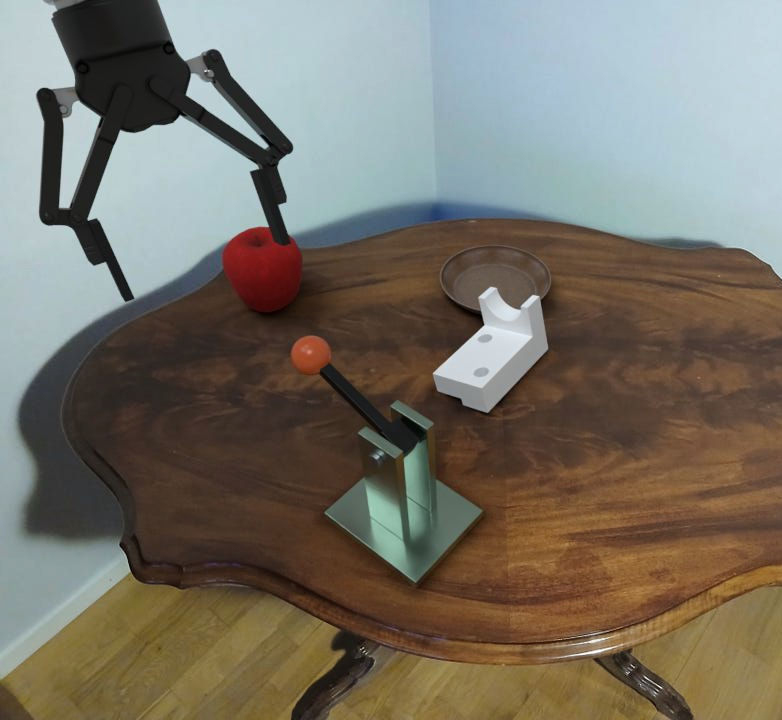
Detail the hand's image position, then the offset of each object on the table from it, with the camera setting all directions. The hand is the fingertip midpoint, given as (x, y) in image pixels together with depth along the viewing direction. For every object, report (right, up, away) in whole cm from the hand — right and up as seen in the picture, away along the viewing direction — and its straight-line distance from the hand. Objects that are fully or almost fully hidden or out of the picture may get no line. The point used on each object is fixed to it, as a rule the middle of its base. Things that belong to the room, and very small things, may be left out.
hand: (208, 269), depth 63 cm
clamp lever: (+11, -12, +3) cm, 17 cm away
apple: (-4, 0, +33) cm, 33 cm away
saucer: (+25, +1, +36) cm, 44 cm away
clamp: (+16, -23, +10) cm, 30 cm away
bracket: (+24, -9, +25) cm, 36 cm away
